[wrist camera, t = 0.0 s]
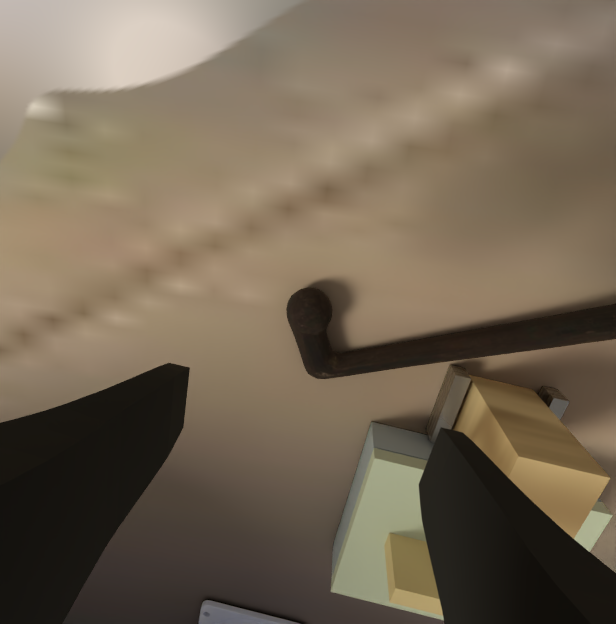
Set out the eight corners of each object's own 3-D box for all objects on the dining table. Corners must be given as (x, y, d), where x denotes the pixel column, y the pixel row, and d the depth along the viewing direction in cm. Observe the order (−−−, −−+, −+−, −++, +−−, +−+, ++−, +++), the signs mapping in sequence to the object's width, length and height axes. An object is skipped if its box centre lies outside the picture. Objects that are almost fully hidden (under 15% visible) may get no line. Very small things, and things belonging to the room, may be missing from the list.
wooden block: (508, 441, 22) (570, 544, 16) (447, 427, 22) (485, 523, 16) (532, 389, 20) (610, 478, 14) (468, 374, 21) (518, 456, 14)
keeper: (526, 452, 22) (536, 466, 21) (425, 428, 22) (430, 441, 21) (557, 389, 20) (569, 401, 19) (450, 364, 20) (455, 375, 19)
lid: (526, 627, 23) (558, 709, 19) (331, 578, 23) (328, 650, 20) (602, 502, 20) (658, 574, 16) (373, 447, 20) (378, 505, 16)
